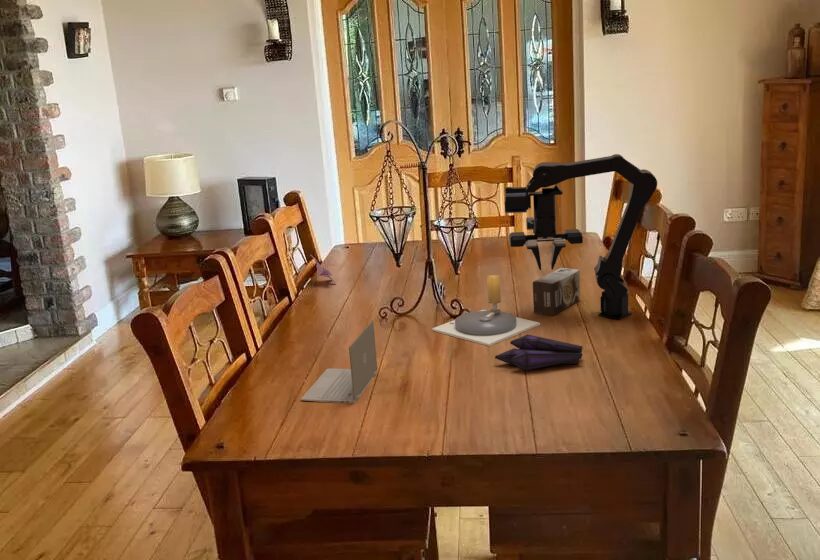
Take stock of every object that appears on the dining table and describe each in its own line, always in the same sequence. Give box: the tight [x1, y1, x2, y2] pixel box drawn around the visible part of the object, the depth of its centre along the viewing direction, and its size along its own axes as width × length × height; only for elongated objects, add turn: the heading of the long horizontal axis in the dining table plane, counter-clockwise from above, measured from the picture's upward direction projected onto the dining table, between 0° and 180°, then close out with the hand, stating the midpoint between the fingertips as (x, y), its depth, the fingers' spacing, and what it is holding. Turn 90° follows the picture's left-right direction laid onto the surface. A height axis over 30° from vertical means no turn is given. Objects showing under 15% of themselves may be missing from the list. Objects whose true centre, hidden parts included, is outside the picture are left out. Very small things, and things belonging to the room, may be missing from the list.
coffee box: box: [532, 267, 581, 316], centre depth 229 cm, size 9×6×16 cm
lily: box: [310, 254, 337, 287], centre depth 269 cm, size 12×12×10 cm
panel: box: [431, 309, 541, 347], centre depth 217 cm, size 20×20×1 cm
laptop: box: [300, 319, 378, 404], centre depth 183 cm, size 18×12×13 cm
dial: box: [454, 274, 517, 335], centre depth 215 cm, size 16×16×12 cm
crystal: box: [494, 333, 584, 372], centre depth 189 cm, size 7×12×20 cm
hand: (546, 269), depth 219 cm, fingers open, 3 cm apart
